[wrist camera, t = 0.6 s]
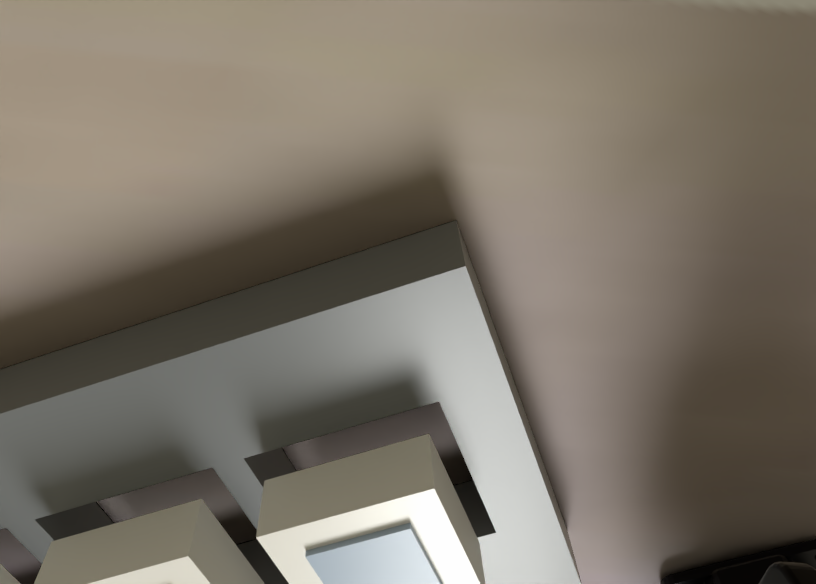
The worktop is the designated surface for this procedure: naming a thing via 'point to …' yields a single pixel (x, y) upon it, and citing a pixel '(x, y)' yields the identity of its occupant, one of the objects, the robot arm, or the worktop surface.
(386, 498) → the key
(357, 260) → the keypad board
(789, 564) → the robot arm
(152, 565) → the key
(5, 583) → the key
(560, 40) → the worktop surface
